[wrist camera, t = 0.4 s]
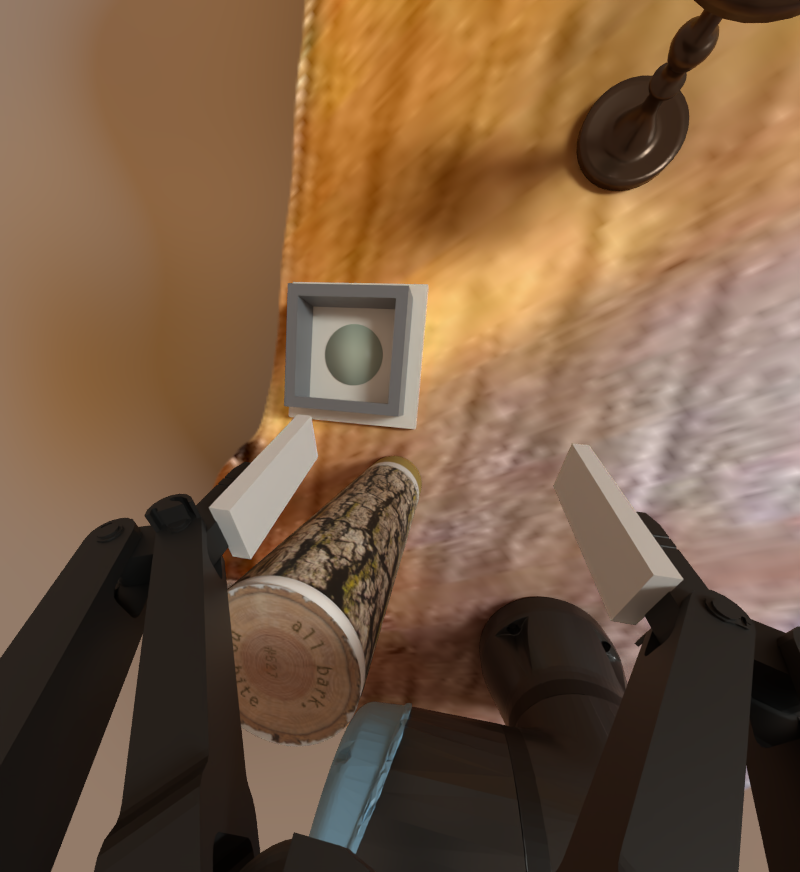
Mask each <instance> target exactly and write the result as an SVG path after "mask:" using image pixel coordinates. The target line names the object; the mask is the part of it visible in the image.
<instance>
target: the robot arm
mask: <svg viewBox="0 0 800 872" xmlns="http://www.w3.org/2000/svg"><path fill="white" fill-rule="evenodd" d="M317 458H318V454H317V448H316V442H315V436H314V430H313V424H312V418H311V416H308V415H298V414H297V416H296V417H295V418H294V419H293V420H292V421H291V422H290V423H289V424H288V425H287V426H286V427H285V428H284V429H283V430H282V431H281V432H280V433H279V434H278V435H277V436H276V438H275V439H274V440H273V441H272V442H271V443H270V444H269V445H268V446H267V447H266V448H265V449H264V450H263V451H262V452H261V453H260V454H259V455H258V456H257V457H256V458H255V460H254V461H253V462H252V463H249V462H244V463H242V464H241V465H239V466H237V467H235V468H234V469H233V470H232V471H231V472H230V473H228V474H227V475H226V476H225V479H224V478H223V479H222V480H221V481H220V482H219V483H218V485H216V486H215V487H214V488H213V489H212V490H211V491H210V492H209V493H208V494H207V495H206V496H205V497H204V498H203V499H202V500H201V501H200V502H199V503H198V504H197V505H195V503H194V502H193V500H192V498H191V497H190V496H189V495H187V494H176V495H171V496H168V497H166V498H163V499H161V500H159V501H158V502H156V503H154V504H153V505H152V506H151V507H150V508H149V509H148V510H147V512H146V514H145V517H146V519H147V520H148V522H149V523H150V525H151V526H143V527H138V526H137V525H136V523H135V522H134V521H133V519H129V518H120V519H116V520H112V521H109V522H107V523H105V524H103V525H101V526H99V527H98V528H96V529H95V530H93V531H92V532H91V533H90V534H89V535H88V536H87V537H86V538H85V540H84V541H83V542H82V544H81V545H80V547H79V548H78V549H77V551H76V552H75V554H74V555H73V556H72V558H71V559H70V561H69V562H68V564H67V565H66V566H65V568H64V569H63V571H62V572H61V573H60V575H59V576H58V578H57V579H56V580H55V582H54V584H53V585H52V586H51V587H50V589H49V590H48V592H47V593H46V595H45V596H44V597H43V599H42V600H41V602H40V603H39V605H38V606H37V607H36V609H35V610H34V612H33V613H32V614H31V616H30V617H29V619H28V620H27V621H26V623H25V624H24V626H23V627H22V629H21V630H20V631H19V633H18V634H17V635H16V637H15V638H14V640H13V641H12V643H11V644H10V645H9V647H8V648H7V650H6V651H5V652H4V654H3V655H2V657H1V658H0V872H51V869H52V867H53V865H54V862H55V859H56V857H57V854H58V851H59V849H60V847H61V844H62V841H63V839H64V836H65V834H66V831H67V828H68V826H69V823H70V821H71V818H72V815H73V813H74V810H75V808H76V805H77V803H78V800H79V797H80V795H81V792H82V790H83V787H84V784H85V782H86V779H87V776H88V774H89V771H90V769H91V766H92V764H93V761H94V758H95V756H96V753H97V751H98V748H99V746H100V743H101V740H102V738H103V735H104V732H105V730H106V727H107V725H108V722H109V720H110V717H111V714H112V712H113V709H114V707H115V704H116V702H117V699H118V696H119V694H120V691H121V689H122V686H123V683H124V681H125V678H126V676H127V673H128V671H129V668H130V665H131V663H132V660H133V658H134V655H135V652H136V650H137V647H138V645H139V642H140V639H141V637H142V634H143V639H142V647H141V656H140V663H139V671H138V679H137V687H136V695H135V703H134V711H133V719H132V727H131V735H130V743H129V751H128V759H127V767H126V775H125V783H124V791H123V799H122V806H121V811H120V815H119V818H118V820H117V823H116V825H115V826H114V828H113V829H112V830H111V832H110V833H109V834H108V836H107V837H106V839H105V840H104V842H103V844H102V847H101V849H100V852H99V855H98V857H97V861H96V865H95V870H94V872H738V869H739V868H738V867H739V855H740V841H741V827H742V813H743V800H744V787H745V773H746V766H747V771H748V775H749V780H750V785H751V789H752V794H753V799H754V803H755V808H756V813H757V817H758V821H759V826H760V831H761V835H762V840H763V845H764V849H765V854H766V859H767V863H768V868H769V872H800V627H796V628H794V629H792V630H791V631H789V632H787V633H784V632H782V631H779V630H777V629H774V628H772V627H769V626H767V625H764V624H762V623H759V622H757V621H754V620H752V619H750V618H749V616H748V615H747V614H746V613H745V612H744V611H743V610H742V609H741V608H740V607H739V606H738V605H737V604H736V603H734V602H733V601H731V600H730V599H728V598H727V597H725V596H723V595H721V594H719V593H717V592H715V591H712V590H709V589H708V588H707V587H706V585H705V584H704V583H703V581H702V580H701V579H700V577H699V576H698V575H697V573H696V572H695V571H694V569H693V568H692V567H691V565H690V564H689V563H688V561H687V560H686V559H685V557H684V556H683V555H682V554H681V552H680V551H679V550H678V549H676V546H675V544H674V543H673V542H672V540H671V539H669V536H668V535H667V534H666V532H665V531H664V530H663V528H662V527H661V526H660V524H658V523H657V522H656V521H655V520H653V519H652V518H651V517H650V516H649V515H647V514H646V513H642V512H636V511H635V510H634V508H633V507H632V506H631V504H630V503H629V501H628V500H627V498H626V497H625V496H624V494H623V493H622V491H621V490H620V488H619V487H618V486H617V484H616V483H615V481H614V480H613V479H612V477H611V476H610V474H609V473H608V471H607V470H606V469H605V467H604V466H603V464H602V463H601V461H600V460H599V459H598V457H597V456H596V454H595V453H594V451H593V450H592V449H591V447H590V446H589V445H582V444H572V445H571V447H570V449H569V452H568V454H567V456H566V458H565V461H564V463H563V465H562V467H561V470H560V472H559V474H558V476H557V479H556V481H555V483H554V485H553V487H554V489H555V491H556V494H557V496H558V498H559V501H560V503H561V505H562V508H563V510H564V512H565V515H566V517H567V519H568V522H569V524H570V526H571V529H572V531H573V533H574V536H575V538H576V540H577V543H578V545H579V547H580V550H581V552H582V554H583V557H584V559H585V561H586V564H587V566H588V568H589V571H590V573H591V575H592V578H593V580H594V582H595V585H596V587H597V589H598V592H599V594H600V596H601V599H602V601H603V603H604V606H605V608H606V610H607V613H608V615H609V617H610V620H611V621H614V622H620V623H626V624H632V625H636V624H637V623H638V622H639V621H640V620H642V619H643V618H644V617H646V619H647V621H648V623H649V625H650V626H651V629H650V630H649V631H647V632H646V633H645V634H644V635H643V636H642V637H641V638H640V639H638V640H637V642H636V643H635V644H636V645H637V646H640V645H641V644H642V646H641V649H640V652H639V654H638V657H637V660H636V663H635V665H634V668H633V671H632V673H631V676H630V679H629V682H628V684H627V681H626V677H625V673H624V670H623V666H622V663H621V660H620V657H619V655H618V653H617V651H616V649H615V647H614V645H613V643H612V642H611V641H610V639H609V638H608V636H607V635H606V633H605V632H604V630H603V629H602V628H601V626H600V625H599V624H598V623H597V622H596V620H595V619H593V618H592V617H591V616H590V615H589V614H588V613H586V612H585V611H583V610H582V609H580V608H578V607H577V606H575V605H573V604H570V603H568V602H565V601H562V600H558V599H553V598H545V597H533V598H526V599H521V600H518V601H515V602H512V603H510V604H508V605H506V606H504V607H503V608H501V609H500V610H498V611H497V612H496V613H495V614H494V615H493V616H492V617H491V618H490V619H489V621H488V622H487V624H486V625H485V627H484V629H483V632H482V635H481V639H480V659H481V666H482V672H483V676H484V679H485V682H486V685H487V687H488V689H489V691H490V694H491V696H492V698H493V700H494V702H495V704H496V706H497V708H498V710H499V712H500V714H501V716H502V718H503V720H504V723H505V725H501V724H497V723H492V722H487V721H482V720H477V719H472V718H467V717H462V716H457V715H452V714H447V713H441V712H436V711H431V710H426V709H421V708H416V707H412V704H411V703H406V704H405V705H397V704H389V703H381V702H370V703H367V704H365V705H363V706H362V707H361V708H360V709H359V710H358V711H357V712H356V713H355V715H354V716H353V718H352V719H351V721H350V723H349V725H348V727H347V729H346V731H345V733H344V735H343V737H342V739H341V742H340V744H339V747H338V749H337V752H336V754H335V757H334V760H333V762H332V765H331V768H330V771H329V774H328V777H327V779H326V783H325V785H324V788H323V791H322V795H321V798H320V801H319V804H318V807H317V811H316V814H315V817H314V821H313V824H312V828H311V831H310V834H309V837H308V836H305V835H301V834H298V833H294V834H293V838H292V839H289V840H285V841H282V842H280V843H278V844H275V845H273V846H271V847H269V848H268V849H266V850H265V851H263V852H261V853H260V847H259V840H258V839H259V838H258V829H257V821H256V813H255V807H254V803H253V798H252V795H251V792H250V789H249V786H248V782H247V777H246V770H245V760H244V750H243V740H242V730H241V720H240V710H239V700H238V691H237V681H236V671H235V661H234V651H233V641H232V631H231V621H230V612H229V602H228V592H227V582H226V572H225V562H224V558H223V556H222V555H223V553H224V552H225V551H226V549H227V548H229V550H230V552H231V554H232V556H235V557H240V558H246V559H251V558H252V557H253V555H254V554H255V552H256V551H257V549H258V548H259V546H260V545H261V543H262V542H263V540H264V538H265V537H266V535H267V534H268V532H269V531H270V529H271V528H272V526H273V525H274V523H275V522H276V520H277V519H278V517H279V516H280V514H281V513H282V511H283V510H284V508H285V507H286V505H287V503H288V502H289V500H290V499H291V497H292V496H293V494H294V493H295V491H296V490H297V488H298V487H299V485H300V484H301V482H302V481H303V479H304V478H305V476H306V475H307V473H308V471H309V470H310V468H311V467H312V465H313V464H314V462H315V461H316V459H317Z"/></svg>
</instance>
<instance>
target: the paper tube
mask: <svg viewBox="0 0 800 872" xmlns="http://www.w3.org/2000/svg"><path fill="white" fill-rule="evenodd" d="M421 486H422V483H421V477H420V474H419V472H418V470H417V468H416V467H415V466H414V465H413V464H412V463H411V462H410V461H409V460H407V459H405V458H402V457H399V456H388V457H384V458H382V459H380V460H378V461H377V462H375V463H374V464H373V465H372V466H371V467H369V468H368V469H367V470H366V471H365V472H363V473H362V474H361V475H360V476H359V477H358V478H356V479H355V480H354V481H353V482H352V483H351V484H349V485H348V486H347V487H346V488H345V489H344V490H343V491H341V492H340V493H339V494H338V495H337V496H336V497H334V498H333V499H332V500H331V501H330V502H329V503H327V504H326V505H325V506H324V507H323V508H322V509H320V510H319V511H318V512H317V513H316V514H315V515H313V516H312V517H311V518H310V519H309V520H308V521H306V522H305V523H304V524H303V525H302V526H301V527H299V528H298V529H297V530H296V531H295V532H294V533H292V534H291V535H290V536H289V537H288V538H287V539H285V540H284V541H283V542H282V543H281V544H280V545H278V546H277V547H276V548H275V549H274V550H273V551H272V552H270V553H269V554H268V555H267V556H266V557H265V558H263V559H262V560H261V561H260V562H259V563H258V564H256V565H255V566H254V567H253V568H252V569H251V570H249V571H248V572H247V573H246V574H245V575H244V576H242V577H241V578H240V579H239V580H238V581H237V582H235V583H234V584H233V585H232V586H231V587H230V588H228V589H227V592H228V602H229V612H230V621H231V631H232V641H233V651H234V661H235V671H236V681H237V691H238V700H239V710H240V720H241V727H242V728H243V729H245V730H246V731H248V732H250V733H251V734H253V735H255V736H257V737H259V738H261V739H264V740H267V741H269V742H272V743H276V744H281V745H286V746H309V745H314V744H318V743H321V742H324V741H326V740H328V739H330V738H332V737H333V736H335V735H336V734H337V733H339V732H340V731H341V730H342V729H344V728H345V726H346V725H347V724H348V723H349V722H350V720H351V718H352V717H353V715H354V713H355V711H356V709H357V706H358V702H359V699H360V697H361V695H362V691H363V688H364V685H365V681H366V678H367V675H368V671H369V668H370V664H371V661H372V657H373V654H374V651H375V647H376V644H377V640H378V637H379V633H380V630H381V626H382V623H383V620H384V616H385V613H386V609H387V606H388V602H389V599H390V596H391V592H392V589H393V585H394V582H395V578H396V575H397V571H398V568H399V565H400V561H401V558H402V554H403V551H404V547H405V544H406V541H407V537H408V534H409V530H410V527H411V523H412V520H413V516H414V513H415V510H416V506H417V503H418V499H419V495H420V492H421Z"/></svg>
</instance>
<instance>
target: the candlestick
mask: <svg viewBox="0 0 800 872" xmlns="http://www.w3.org/2000/svg"><path fill="white" fill-rule="evenodd" d="M694 1H695V2H696V3H698V4H699V5H700V6H701V7H702V8H703V9H704V10H703V12H702V14H701V15H700V16H697V17H694V18H692V19H691V20H689V21H688V22H686V23H685V24H684V25H683V26H682V27H681V28H680V29H679V30H678V32H677V33H676V35H675V36H674V38H673V40H672V42H671V45H670V49H669V53H668V60H667V61H668V63H665V64H663V65H662V66H660V67H659V68H658V69H657V70H656V72H655V73H654V75H653V76H638V77H633V78H630V79H627V80H624V81H622V82H620V83H618V84H616V85H615V86H613V87H611V88H610V89H609V90H608V91H606V92H605V93H604V94H603V95H602V96H601V97H600V98H599V99H598V100H597V101H596V103H595V104H594V105H593V107H592V108H591V110H590V112H589V113H588V115H587V117H586V119H585V121H584V123H583V126H582V128H581V130H580V133H579V137H578V141H577V158H578V163H579V165H580V168H581V170H582V172H583V173H584V175H585V176H586V178H587V179H588V180H590V181H591V182H592V183H593V184H595V185H597V186H598V187H600V188H603V189H607V190H612V191H623V190H630V189H633V188H636V187H639V186H641V185H643V184H645V183H647V182H649V181H650V180H652V179H653V178H654V177H656V176H657V175H658V174H659V173H660V172H661V171H662V170H663V169H664V168H665V167H666V166H667V165H668V164H669V163H670V162H671V161H672V160H673V159H674V157H675V156H676V154H677V153H678V151H679V150H680V148H681V146H682V144H683V142H684V140H685V138H686V134H687V131H688V126H689V110H688V105H687V102H686V100H685V97H684V96H683V94H682V93H681V91H680V89H681V88H682V86H683V85H684V83H685V81H686V75H687V74H686V72H688V71H690V70H692V69H693V68H695V67H696V66H697V65H699V64H700V63H701V62H703V61H704V60H705V59H706V58H707V57H708V56H709V54H710V53H711V52H712V50H713V49H714V47H715V45H716V43H717V40H718V36H719V26H718V24H719V23H720V21H721V20H722V18H723V19H727V20H732V21H737V22H741V23H769V22H774V21H779V20H784V19H789V18H793V17H795V16H798V15H800V0H694Z"/></svg>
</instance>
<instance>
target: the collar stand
mask: <svg viewBox="0 0 800 872" xmlns="http://www.w3.org/2000/svg"><path fill="white" fill-rule="evenodd" d="M428 289H429V288H428V285H427V284H373V283H319V282H293V283H288V297H287V331H286V365H285V398H284V406H288V407H289V417H296V416H297V414H298V415H308V416H311V418H312V419H316V420H326V421H336V422H346V423H356V424H367V425H377V426H387V427H397V428H407V429H416V423H417V412H418V401H419V389H420V378H421V367H422V356H423V345H424V334H425V323H426V311H427V300H428Z"/></svg>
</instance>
